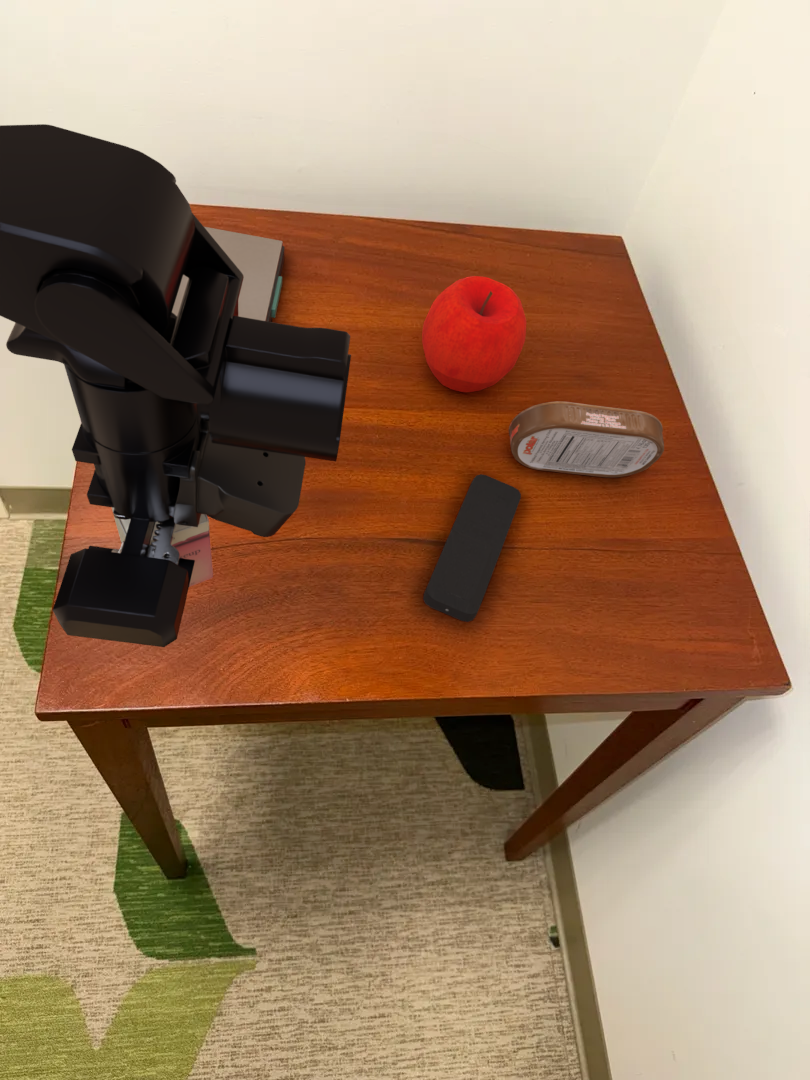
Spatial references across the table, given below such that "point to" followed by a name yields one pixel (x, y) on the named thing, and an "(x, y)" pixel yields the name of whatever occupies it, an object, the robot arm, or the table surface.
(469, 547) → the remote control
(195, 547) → the small box
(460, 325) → the apple
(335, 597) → the table surface
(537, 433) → the tin
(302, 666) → the table surface
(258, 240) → the scale
